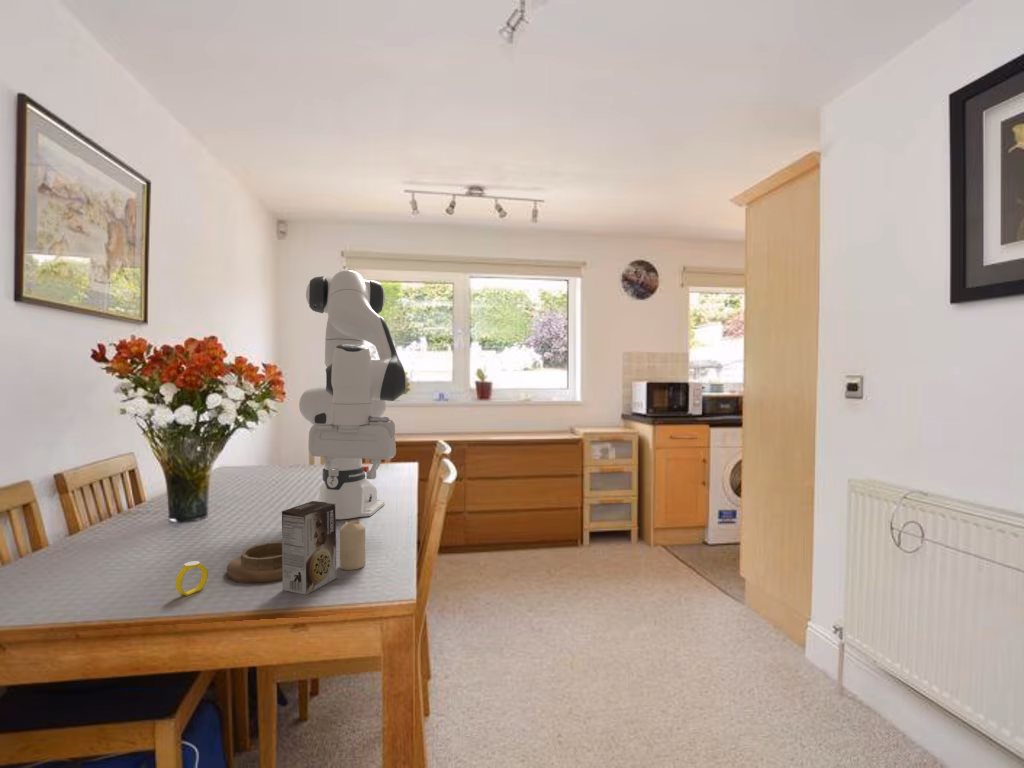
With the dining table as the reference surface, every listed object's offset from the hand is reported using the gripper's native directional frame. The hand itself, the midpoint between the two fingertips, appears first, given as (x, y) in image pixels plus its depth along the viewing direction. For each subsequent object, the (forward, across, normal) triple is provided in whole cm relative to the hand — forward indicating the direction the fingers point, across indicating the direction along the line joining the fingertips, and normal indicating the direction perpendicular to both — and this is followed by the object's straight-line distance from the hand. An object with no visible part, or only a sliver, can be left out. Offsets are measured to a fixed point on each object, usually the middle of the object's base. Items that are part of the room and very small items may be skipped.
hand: (352, 477), depth 120 cm
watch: (+20, +23, +21) cm, 37 cm away
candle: (+20, 0, 0) cm, 20 cm away
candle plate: (+20, +17, +6) cm, 27 cm away
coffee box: (+20, +3, +11) cm, 23 cm away
